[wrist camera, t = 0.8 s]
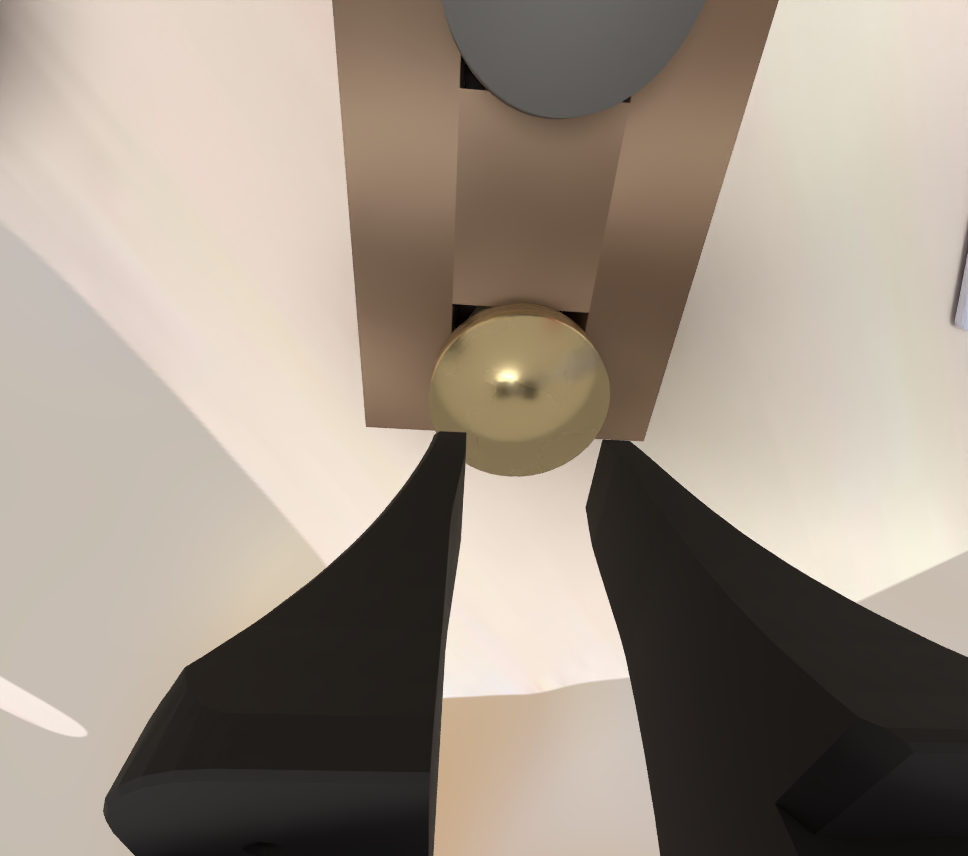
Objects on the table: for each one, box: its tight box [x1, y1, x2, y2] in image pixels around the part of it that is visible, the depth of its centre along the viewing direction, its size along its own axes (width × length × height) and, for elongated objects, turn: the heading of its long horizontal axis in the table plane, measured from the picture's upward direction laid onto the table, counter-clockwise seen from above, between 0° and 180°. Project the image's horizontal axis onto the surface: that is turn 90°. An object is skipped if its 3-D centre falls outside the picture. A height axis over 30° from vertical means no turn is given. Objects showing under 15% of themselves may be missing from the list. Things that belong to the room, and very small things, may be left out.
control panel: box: [332, 0, 779, 441], centre depth 12 cm, size 24×10×4 cm, turn 176°
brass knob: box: [429, 303, 610, 476], centre depth 15 cm, size 5×5×5 cm
